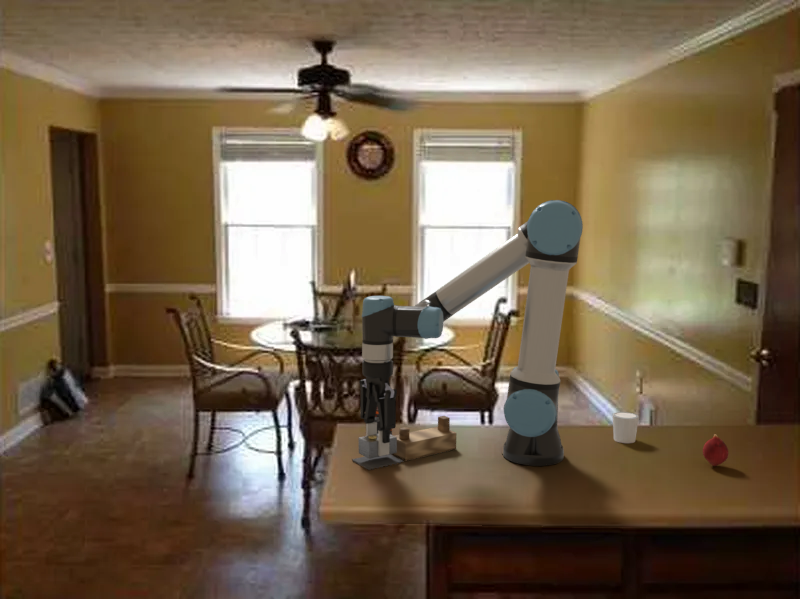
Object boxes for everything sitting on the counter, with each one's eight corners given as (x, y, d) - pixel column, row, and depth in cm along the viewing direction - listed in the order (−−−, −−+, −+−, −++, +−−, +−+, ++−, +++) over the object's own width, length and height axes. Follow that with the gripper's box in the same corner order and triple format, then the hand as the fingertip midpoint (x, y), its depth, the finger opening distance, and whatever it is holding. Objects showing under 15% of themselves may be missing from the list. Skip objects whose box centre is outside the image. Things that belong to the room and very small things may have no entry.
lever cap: (396, 452, 192) (396, 435, 191) (369, 458, 187) (369, 440, 187) (385, 447, 196) (385, 430, 195) (358, 453, 191) (358, 435, 191)
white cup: (640, 444, 206) (642, 418, 205) (615, 443, 206) (616, 418, 205) (633, 436, 213) (634, 411, 212) (608, 436, 213) (609, 411, 212)
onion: (731, 466, 189) (733, 434, 188) (722, 472, 185) (724, 439, 184) (707, 460, 193) (709, 429, 192) (698, 466, 189) (699, 434, 188)
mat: (403, 462, 191) (403, 460, 191) (369, 470, 186) (369, 468, 186) (385, 453, 198) (385, 451, 198) (352, 460, 192) (352, 459, 192)
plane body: (440, 442, 207) (440, 413, 206) (456, 449, 201) (456, 419, 200) (390, 453, 198) (390, 423, 197) (405, 461, 192) (405, 429, 191)
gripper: (411, 364, 183) (410, 459, 186) (371, 351, 198) (371, 439, 201) (384, 368, 179) (384, 464, 182) (345, 354, 194) (346, 444, 197)
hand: (377, 451), depth 192 cm, fingers closed on lever cap, 5 cm apart
